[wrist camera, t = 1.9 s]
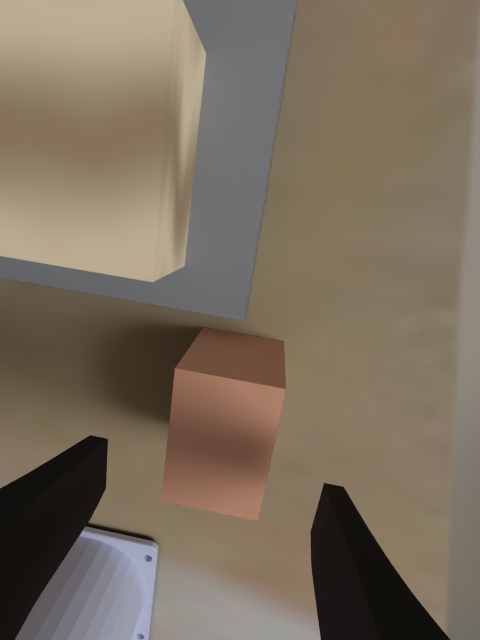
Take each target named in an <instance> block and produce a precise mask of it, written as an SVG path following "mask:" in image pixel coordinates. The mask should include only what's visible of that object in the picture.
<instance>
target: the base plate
mask: <svg viewBox="0 0 480 640" xmlns="http://www.w3.org/2000/svg"><path fill="white" fill-rule="evenodd" d="M183 2H184V4H185V6H186V9H187V11H188V13H189V16H190V18H191V20H192V22H193V25H194V27H195V29H196V32H197V34H198V36H199V38H200V41H201V43H202V45H203V47H204V50H205V52H206V61H205V71H204V81H203V90H202V100H201V110H200V120H199V129H198V139H197V149H196V158H195V168H194V178H193V188H192V197H191V207H190V217H189V227H188V236H187V246H186V256H185V265H184V267H182V268H180V269H178V270H176V271H174V272H172V273H170V274H168V275H166V276H164V277H162V278H160V279H158V280H156V281H154V282H148V281H142V280H137V279H131V278H125V277H119V276H113V275H108V274H102V273H96V272H90V271H84V270H79V269H73V268H67V267H61V266H55V265H50V264H44V263H38V262H32V261H27V260H21V259H15V258H9V257H3V256H0V278H4V279H9V280H15V281H21V282H26V283H32V284H38V285H43V286H49V287H55V288H60V289H66V290H71V291H77V292H83V293H88V294H94V295H100V296H105V297H111V298H117V299H122V300H128V301H134V302H139V303H145V304H151V305H156V306H162V307H168V308H173V309H179V310H185V311H190V312H196V313H202V314H207V315H213V316H219V317H224V318H230V319H236V320H241V321H245V318H246V315H247V309H248V303H249V296H250V290H251V284H252V278H253V272H254V266H255V260H256V253H257V247H258V241H259V235H260V229H261V223H262V217H263V210H264V204H265V198H266V192H267V186H268V180H269V174H270V168H271V161H272V155H273V149H274V143H275V137H276V131H277V125H278V118H279V112H280V106H281V100H282V94H283V88H284V82H285V75H286V69H287V63H288V57H289V51H290V45H291V39H292V32H293V26H294V20H295V14H296V2H297V0H183Z"/></svg>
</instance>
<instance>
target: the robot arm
mask: <svg viewBox="0 0 480 640" xmlns="http://www.w3.org/2000/svg"><path fill="white" fill-rule="evenodd" d="M107 446H108V439H106V438H101V437H96V436H91V435H90V436H88V437H87V438H85V439H83V440H82V441H80V442H78V443H77V444H75V445H74V446H72V447H70V448H69V449H67V450H66V451H64V452H62V453H61V454H59V455H58V456H56V457H54V458H53V459H51V460H49V461H48V462H46V463H44V464H43V465H41V466H39V467H38V468H36V469H34V470H33V471H31V472H29V473H28V474H26V475H24V476H22V477H20V478H18V479H17V480H15V481H13V482H11V483H9V484H8V485H6V486H4V487H2V488H0V640H149V633H150V623H151V614H152V604H153V595H154V586H155V576H156V567H157V557H158V545H157V544H156V543H155V542H153V541H150V540H146V539H141V538H136V537H132V536H127V535H123V534H118V533H114V532H109V531H104V530H100V529H95V528H91V527H86V525H87V523H88V522H89V520H90V519H91V517H92V515H93V513H94V511H95V509H96V507H97V505H98V503H99V501H100V499H101V497H102V495H103V493H104V491H105V489H106V471H107ZM311 564H312V575H313V583H314V591H315V598H316V606H317V613H318V621H319V628H320V636H321V640H450V639H449V638H448V636H447V635H446V634H445V633H444V632H443V631H442V629H441V628H440V627H439V626H438V625H437V623H436V622H435V621H434V620H433V618H432V617H431V616H430V615H429V613H428V612H427V611H426V610H425V608H424V607H423V606H422V605H421V603H420V602H419V601H418V600H417V598H416V597H415V596H414V595H413V593H412V592H411V591H410V589H409V588H408V587H407V585H406V584H405V582H404V581H403V580H402V578H401V577H400V575H399V574H398V573H397V571H396V570H395V568H394V567H393V565H392V564H391V562H390V561H389V559H388V558H387V557H386V555H385V553H384V552H383V550H382V549H381V547H380V546H379V544H378V543H377V541H376V540H375V538H374V537H373V535H372V533H371V532H370V530H369V529H368V527H367V525H366V524H365V522H364V520H363V519H362V517H361V515H360V514H359V512H358V510H357V509H356V507H355V505H354V504H353V502H352V500H351V499H350V497H349V495H348V493H347V492H346V490H345V489H344V487H341V486H336V485H332V484H327V483H324V485H323V489H322V493H321V496H320V500H319V504H318V507H317V511H316V514H315V518H314V522H313V525H312V529H311Z"/></svg>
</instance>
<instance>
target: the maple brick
mask: <svg viewBox="0 0 480 640" xmlns="http://www.w3.org/2000/svg"><path fill="white" fill-rule="evenodd" d="M205 61H206V52H205V50H204V47H203V45H202V43H201V41H200V38H199V36H198V34H197V32H196V29H195V27H194V25H193V22H192V20H191V18H190V16H189V13H188V11H187V9H186V6H185V4H184V2H183V0H0V256H3V257H9V258H15V259H21V260H27V261H32V262H38V263H44V264H50V265H55V266H61V267H67V268H73V269H79V270H84V271H90V272H96V273H102V274H108V275H113V276H119V277H125V278H131V279H137V280H142V281H148V282H154V281H156V280H158V279H160V278H162V277H164V276H166V275H168V274H170V273H172V272H174V271H176V270H178V269H180V268H182V267H184V265H185V256H186V246H187V236H188V227H189V217H190V207H191V197H192V188H193V178H194V168H195V158H196V149H197V139H198V129H199V120H200V110H201V100H202V90H203V81H204V71H205Z"/></svg>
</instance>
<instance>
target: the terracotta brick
mask: <svg viewBox="0 0 480 640" xmlns="http://www.w3.org/2000/svg"><path fill="white" fill-rule="evenodd" d="M285 391H286V379H285V356H284V341H278V340H273V339H267V338H261V337H256V336H250V335H245V334H239V333H234V332H228V331H222V330H217V329H211V328H206V327H203V329H202V330H201V331H200V333H199V334H198V336H197V337H196V339H195V340H194V342H193V343H192V344H191V346H190V347H189V349H188V350H187V352H186V353H185V355H184V356H183V357H182V359H181V360H180V362H179V363H178V365H177V366H176V368H175V373H174V383H173V392H172V402H171V412H170V421H169V431H168V441H167V450H166V460H165V469H164V479H163V489H162V498H161V501H163V502H168V503H173V504H177V505H182V506H187V507H192V508H196V509H201V510H206V511H211V512H215V513H220V514H225V515H230V516H234V517H239V518H244V519H249V520H253V521H258V518H259V514H260V509H261V504H262V500H263V495H264V490H265V485H266V481H267V476H268V471H269V467H270V462H271V457H272V452H273V448H274V443H275V438H276V434H277V429H278V424H279V419H280V415H281V410H282V405H283V401H284V396H285Z"/></svg>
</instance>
